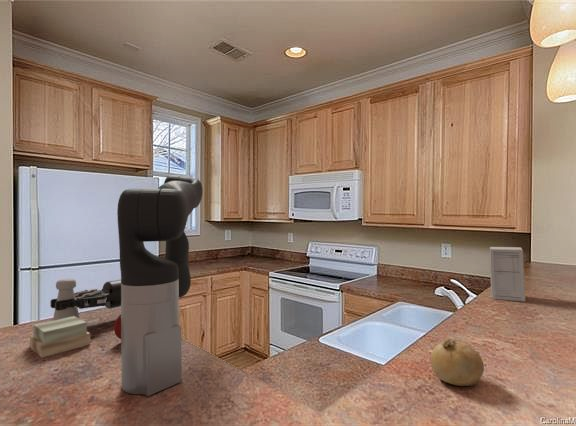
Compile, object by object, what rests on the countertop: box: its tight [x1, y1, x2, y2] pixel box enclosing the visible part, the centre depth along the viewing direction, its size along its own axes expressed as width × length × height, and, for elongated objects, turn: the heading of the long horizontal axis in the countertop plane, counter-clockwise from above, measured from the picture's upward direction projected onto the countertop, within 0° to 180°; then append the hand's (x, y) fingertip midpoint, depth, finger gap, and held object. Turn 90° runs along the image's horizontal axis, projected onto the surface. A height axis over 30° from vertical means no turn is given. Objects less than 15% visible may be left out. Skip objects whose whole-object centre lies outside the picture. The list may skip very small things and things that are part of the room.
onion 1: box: [113, 313, 121, 340], centre depth 75 cm, size 6×6×8 cm
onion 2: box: [429, 337, 485, 387], centre depth 55 cm, size 8×8×7 cm
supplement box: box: [489, 246, 526, 303], centre depth 111 cm, size 10×9×17 cm
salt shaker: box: [52, 278, 81, 321], centre depth 84 cm, size 6×6×13 cm
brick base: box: [29, 316, 91, 359], centre depth 73 cm, size 9×9×5 cm
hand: (53, 305), depth 81 cm, fingers closed on salt shaker, 3 cm apart
